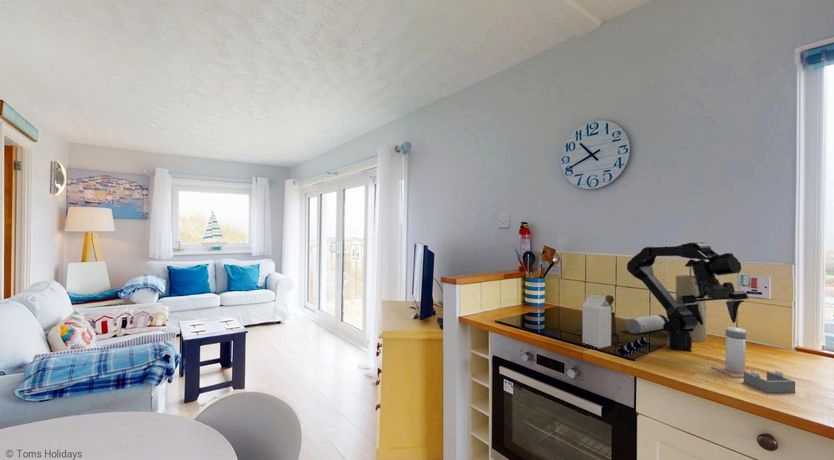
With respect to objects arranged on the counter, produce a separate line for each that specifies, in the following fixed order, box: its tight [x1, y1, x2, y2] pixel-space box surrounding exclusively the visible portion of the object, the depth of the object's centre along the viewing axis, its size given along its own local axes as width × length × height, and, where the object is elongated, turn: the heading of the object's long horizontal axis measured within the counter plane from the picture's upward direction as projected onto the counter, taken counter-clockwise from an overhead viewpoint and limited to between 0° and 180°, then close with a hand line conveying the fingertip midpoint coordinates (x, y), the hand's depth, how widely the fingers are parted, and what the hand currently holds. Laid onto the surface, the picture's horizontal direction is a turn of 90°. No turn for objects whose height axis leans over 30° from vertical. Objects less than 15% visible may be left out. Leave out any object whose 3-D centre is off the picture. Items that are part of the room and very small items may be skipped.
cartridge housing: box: [743, 370, 796, 394], centre depth 103 cm, size 7×9×4 cm
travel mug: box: [625, 314, 669, 335], centre depth 158 cm, size 6×7×20 cm
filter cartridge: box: [724, 326, 747, 374], centre depth 113 cm, size 5×5×13 cm
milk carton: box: [582, 293, 612, 349], centre depth 139 cm, size 7×7×19 cm
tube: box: [675, 274, 707, 343], centre depth 149 cm, size 10×10×25 cm
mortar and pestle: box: [604, 295, 620, 344], centre depth 145 cm, size 7×6×18 cm
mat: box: [711, 365, 761, 379], centre depth 113 cm, size 8×8×1 cm
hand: (717, 323), depth 123 cm, fingers open, 9 cm apart
